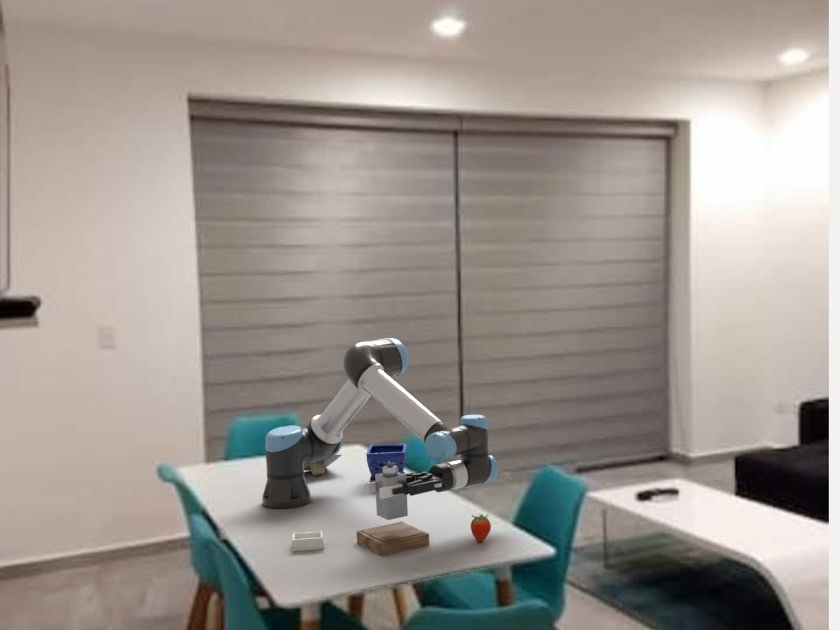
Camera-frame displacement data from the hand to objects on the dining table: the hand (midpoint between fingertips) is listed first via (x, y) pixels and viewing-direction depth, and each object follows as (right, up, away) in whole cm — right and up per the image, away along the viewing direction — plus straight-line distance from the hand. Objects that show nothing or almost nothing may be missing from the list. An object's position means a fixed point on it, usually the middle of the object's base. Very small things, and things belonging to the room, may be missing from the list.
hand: (374, 490), depth 231 cm
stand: (+5, -15, +4) cm, 16 cm away
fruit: (+28, -14, +3) cm, 32 cm away
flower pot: (+1, -11, +69) cm, 70 cm away
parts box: (-18, -16, +4) cm, 24 cm away
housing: (+5, -7, +3) cm, 9 cm away
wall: (-26, -11, +85) cm, 89 cm away
